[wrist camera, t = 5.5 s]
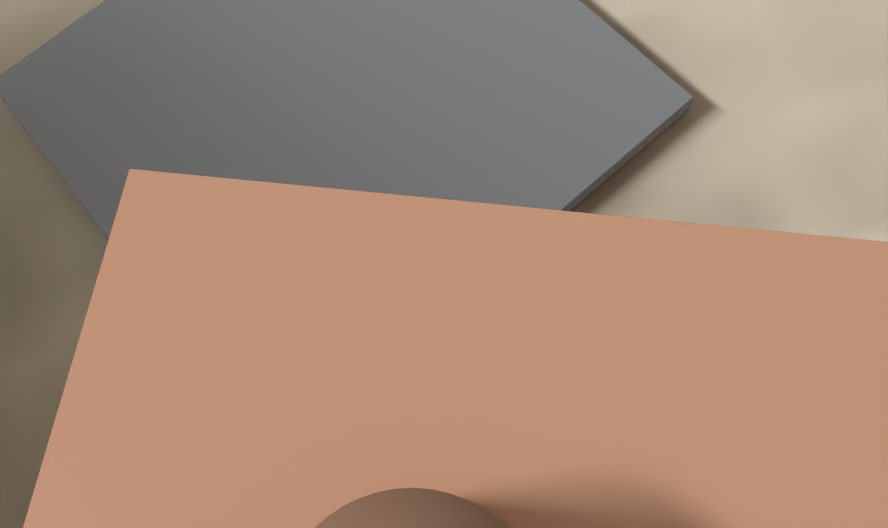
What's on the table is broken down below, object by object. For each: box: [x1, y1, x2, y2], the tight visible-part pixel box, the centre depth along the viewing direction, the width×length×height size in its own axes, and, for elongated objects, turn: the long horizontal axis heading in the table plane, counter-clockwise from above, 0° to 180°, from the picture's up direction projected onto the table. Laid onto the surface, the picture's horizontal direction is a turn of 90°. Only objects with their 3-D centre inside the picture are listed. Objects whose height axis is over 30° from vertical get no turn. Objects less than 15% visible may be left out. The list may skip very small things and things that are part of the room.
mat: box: [0, 0, 693, 240], centre depth 19 cm, size 12×12×1 cm
